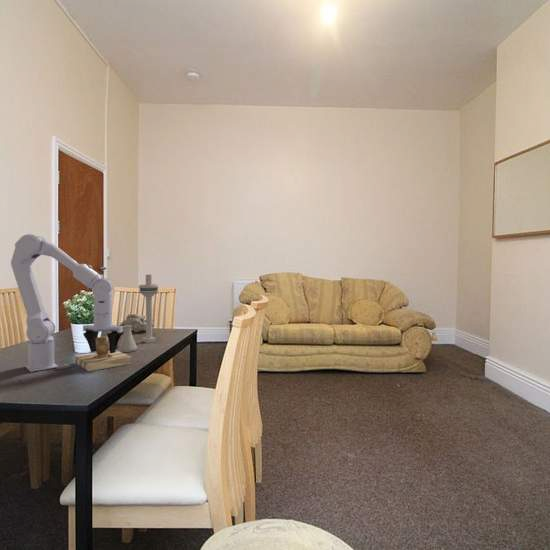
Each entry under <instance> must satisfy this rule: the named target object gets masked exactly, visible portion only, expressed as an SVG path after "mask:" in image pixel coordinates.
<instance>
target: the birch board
mask: <svg viewBox="0 0 550 550" xmlns="http://www.w3.org/2000/svg"><path fill="white" fill-rule="evenodd" d="M75 364H77V365H78V366H79V367H81V368H82V369H84V370H85V371H87V372H93V371H98V370H103V369H109V368H115V367H121V366H126V365H131V364H132V356H131V355H128V354H127V353H125V352H120V351H118V349H116V352H115V353H110V350H109V352H108V357H106V358H100V359H98V358H97V353H96V352H91V353H87V354H80V355H79V354H78V355H75Z"/></svg>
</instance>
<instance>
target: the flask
mask: <svg viewBox="0 0 550 550" xmlns="http://www.w3.org/2000/svg"><path fill="white" fill-rule="evenodd" d="M131 327H132V326H131V325H126V326H123V328H124V331H123V332H122V336H121V337H122V338H121V339H120V341H119V345H118V348H117V350H118V351H120V352H122V353H130V352H135V351H137V350H138V346H137V343H136V341H135V339H134V337H133V333H132V328H131Z"/></svg>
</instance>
